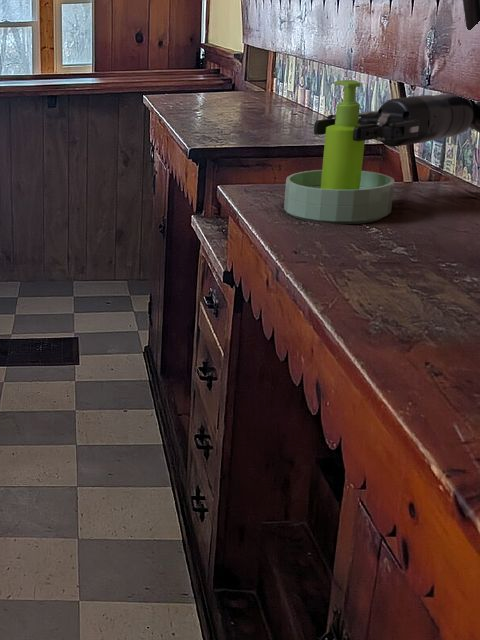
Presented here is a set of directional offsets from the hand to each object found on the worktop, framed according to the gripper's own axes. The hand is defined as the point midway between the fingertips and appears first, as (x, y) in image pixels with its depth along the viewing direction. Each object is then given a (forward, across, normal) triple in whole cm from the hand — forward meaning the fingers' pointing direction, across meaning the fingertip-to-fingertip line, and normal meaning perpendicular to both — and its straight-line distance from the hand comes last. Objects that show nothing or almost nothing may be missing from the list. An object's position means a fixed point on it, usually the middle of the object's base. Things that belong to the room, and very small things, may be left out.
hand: (334, 130), depth 135 cm
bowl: (-2, 0, +13) cm, 13 cm away
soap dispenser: (-2, 0, +13) cm, 13 cm away
